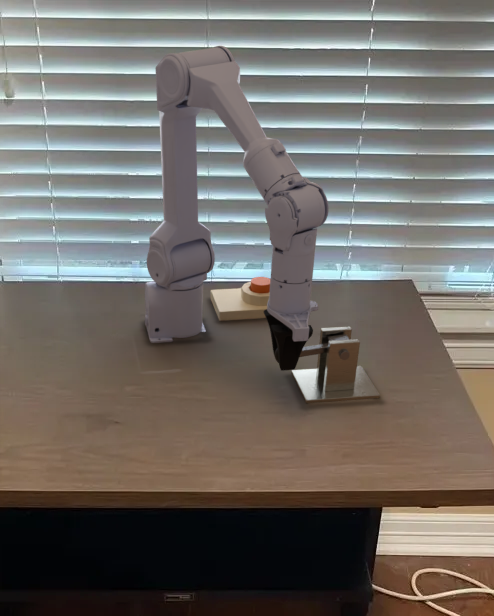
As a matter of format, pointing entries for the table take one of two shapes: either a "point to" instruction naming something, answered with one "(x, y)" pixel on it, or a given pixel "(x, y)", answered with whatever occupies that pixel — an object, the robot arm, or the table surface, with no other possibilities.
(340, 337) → the lever
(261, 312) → the control block
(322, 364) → the bracket
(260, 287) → the button
